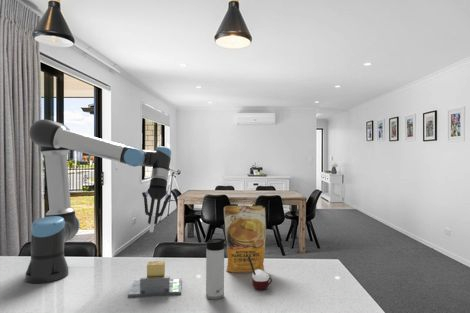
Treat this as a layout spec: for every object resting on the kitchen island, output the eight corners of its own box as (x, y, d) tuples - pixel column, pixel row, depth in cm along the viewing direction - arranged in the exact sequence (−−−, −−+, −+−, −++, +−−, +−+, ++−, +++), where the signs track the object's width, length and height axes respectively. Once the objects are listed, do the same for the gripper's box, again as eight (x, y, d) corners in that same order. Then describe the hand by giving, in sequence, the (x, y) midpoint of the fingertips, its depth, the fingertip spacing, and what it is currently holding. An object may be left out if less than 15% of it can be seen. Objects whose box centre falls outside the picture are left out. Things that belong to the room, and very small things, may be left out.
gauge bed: (128, 297, 110) (128, 279, 110) (134, 283, 123) (134, 267, 123) (180, 294, 113) (181, 277, 113) (181, 280, 125) (181, 265, 126)
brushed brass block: (146, 290, 113) (146, 265, 113) (148, 286, 117) (148, 261, 117) (176, 289, 114) (177, 263, 115) (177, 284, 118) (177, 260, 119)
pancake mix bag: (222, 268, 141) (223, 204, 141) (265, 267, 143) (265, 204, 143) (223, 273, 134) (223, 206, 135) (268, 272, 136) (268, 206, 136)
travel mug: (222, 300, 108) (222, 241, 108) (203, 299, 109) (204, 240, 109) (226, 293, 114) (227, 237, 114) (208, 291, 115) (209, 236, 115)
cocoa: (271, 286, 121) (272, 254, 122) (272, 292, 115) (273, 259, 116) (246, 284, 122) (248, 252, 123) (245, 290, 116) (247, 257, 117)
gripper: (173, 183, 150) (166, 234, 141) (145, 180, 148) (136, 231, 139) (173, 178, 143) (166, 231, 134) (144, 175, 141) (134, 229, 132)
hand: (151, 231), depth 136 cm, fingers closed
